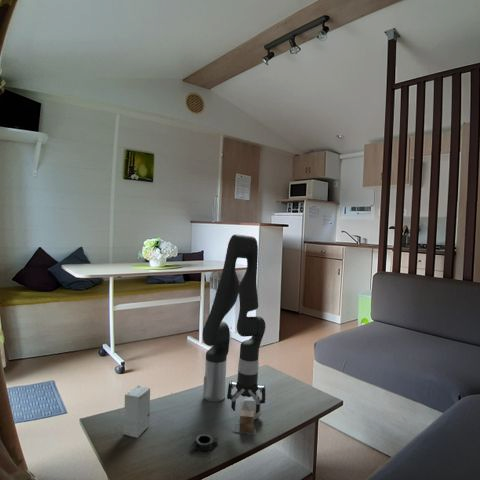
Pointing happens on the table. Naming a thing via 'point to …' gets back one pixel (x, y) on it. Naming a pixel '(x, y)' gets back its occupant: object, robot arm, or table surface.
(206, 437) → the black round bracket
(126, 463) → the table surface
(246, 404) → the die
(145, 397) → the skincare box
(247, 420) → the brown rectangular block
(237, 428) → the pad
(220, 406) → the table surface
